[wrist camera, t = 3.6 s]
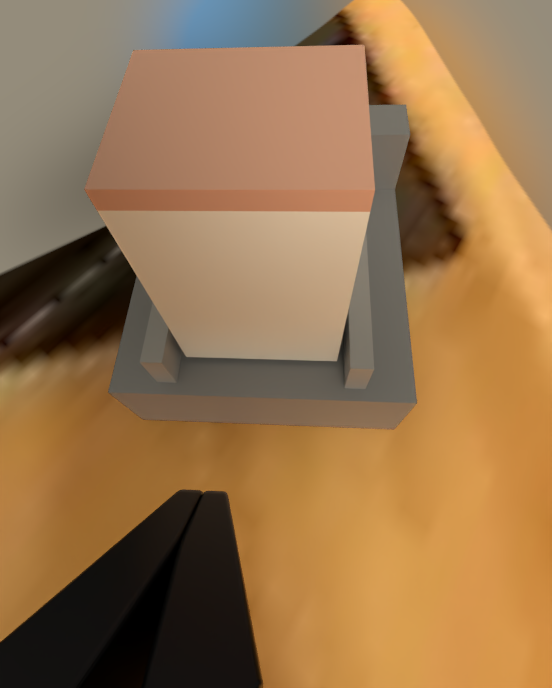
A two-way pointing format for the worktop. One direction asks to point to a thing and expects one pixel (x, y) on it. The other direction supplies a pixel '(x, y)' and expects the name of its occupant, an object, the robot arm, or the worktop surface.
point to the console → (294, 375)
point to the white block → (242, 193)
